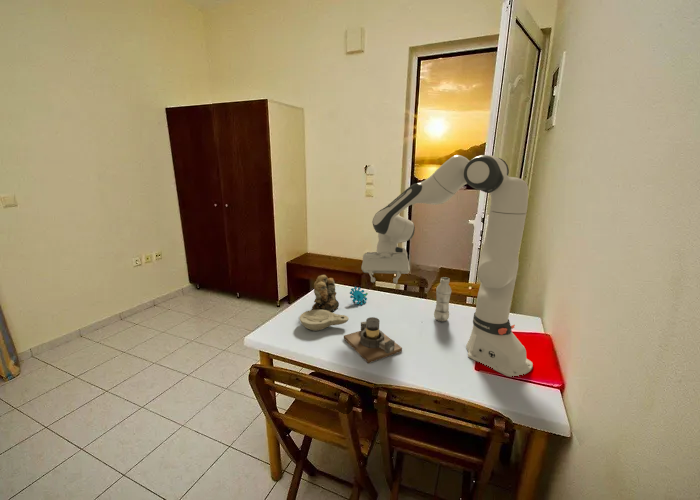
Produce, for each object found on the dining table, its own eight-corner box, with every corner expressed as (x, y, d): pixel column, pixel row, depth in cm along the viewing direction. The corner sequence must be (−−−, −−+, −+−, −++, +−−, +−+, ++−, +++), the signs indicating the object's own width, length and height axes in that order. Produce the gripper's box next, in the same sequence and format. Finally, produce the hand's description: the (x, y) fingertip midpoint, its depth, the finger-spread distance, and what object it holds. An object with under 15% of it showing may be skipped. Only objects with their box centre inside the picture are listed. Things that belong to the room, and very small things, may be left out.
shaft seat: (402, 352, 114) (403, 339, 113) (369, 363, 107) (369, 351, 106) (374, 329, 130) (374, 318, 129) (343, 338, 123) (343, 326, 121)
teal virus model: (354, 305, 149) (348, 286, 153) (348, 310, 153) (342, 292, 157) (372, 302, 155) (365, 285, 160) (365, 307, 159) (359, 290, 164)
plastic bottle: (451, 321, 137) (456, 280, 132) (439, 324, 135) (443, 281, 130) (442, 315, 143) (446, 275, 138) (430, 317, 140) (434, 277, 135)
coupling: (381, 343, 117) (382, 321, 115) (370, 346, 115) (370, 324, 112) (374, 336, 121) (374, 316, 119) (363, 339, 119) (363, 319, 117)
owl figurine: (329, 318, 139) (328, 283, 135) (305, 314, 143) (304, 279, 139) (343, 302, 156) (343, 270, 151) (322, 299, 159) (321, 268, 155)
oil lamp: (348, 318, 139) (349, 308, 137) (348, 335, 125) (348, 324, 124) (303, 317, 139) (302, 307, 138) (297, 334, 125) (296, 323, 124)
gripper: (361, 249, 133) (357, 279, 127) (409, 249, 126) (407, 280, 121) (365, 255, 138) (361, 284, 133) (410, 255, 132) (409, 285, 126)
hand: (383, 282), depth 127 cm, fingers open, 8 cm apart
